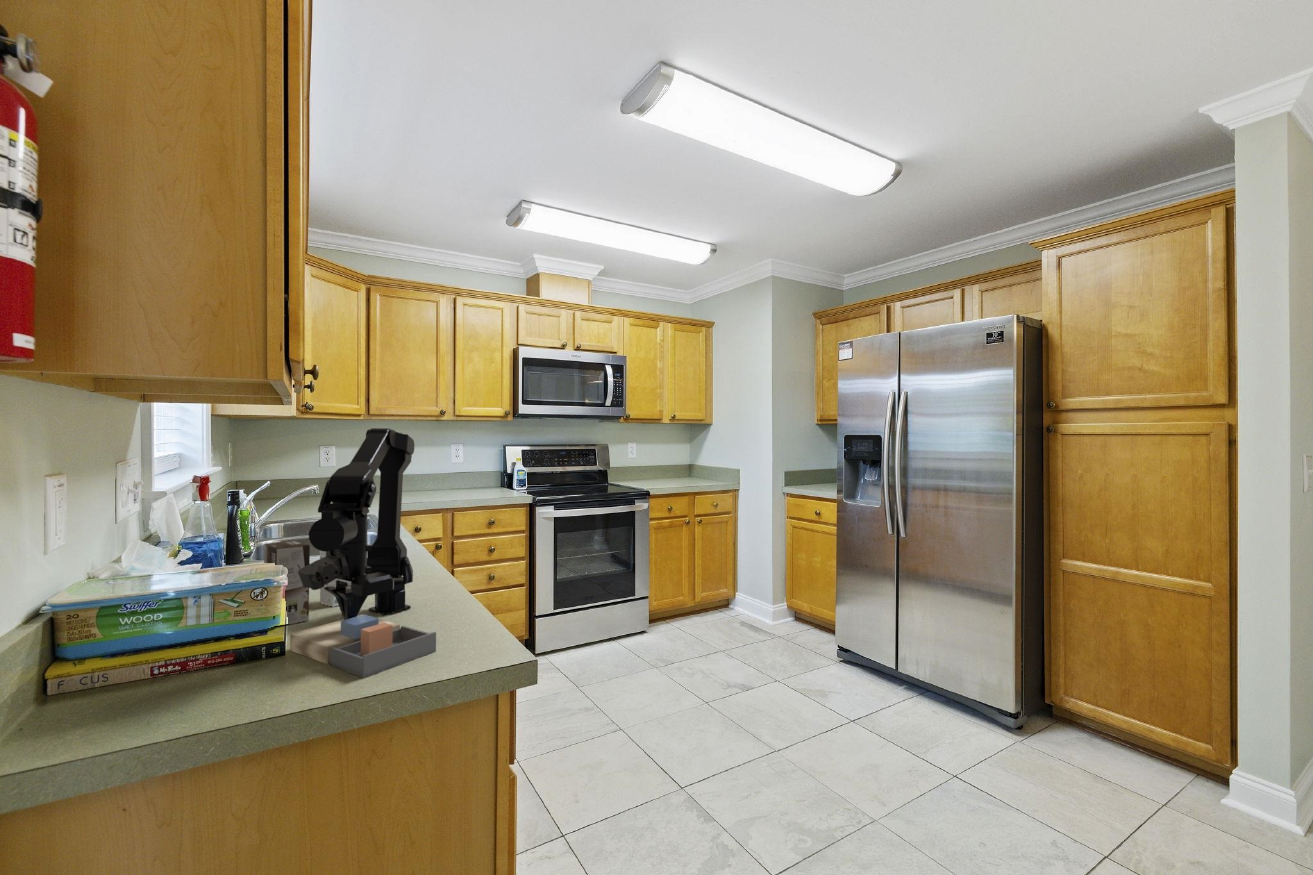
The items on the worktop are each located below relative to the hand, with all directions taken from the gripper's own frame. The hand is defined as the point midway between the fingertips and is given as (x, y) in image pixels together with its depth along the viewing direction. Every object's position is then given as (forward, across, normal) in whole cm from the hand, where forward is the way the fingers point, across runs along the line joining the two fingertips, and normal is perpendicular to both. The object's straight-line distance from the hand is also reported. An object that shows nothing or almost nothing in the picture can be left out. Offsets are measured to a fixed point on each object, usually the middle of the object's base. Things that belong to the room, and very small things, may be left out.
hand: (349, 624), depth 110 cm
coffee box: (+4, -26, +2) cm, 26 cm away
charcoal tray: (+4, +11, 0) cm, 11 cm away
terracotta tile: (+1, +7, 0) cm, 7 cm away
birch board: (+4, -1, 0) cm, 4 cm away
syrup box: (+4, -29, +15) cm, 33 cm away
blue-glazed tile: (+1, +3, 0) cm, 3 cm away
